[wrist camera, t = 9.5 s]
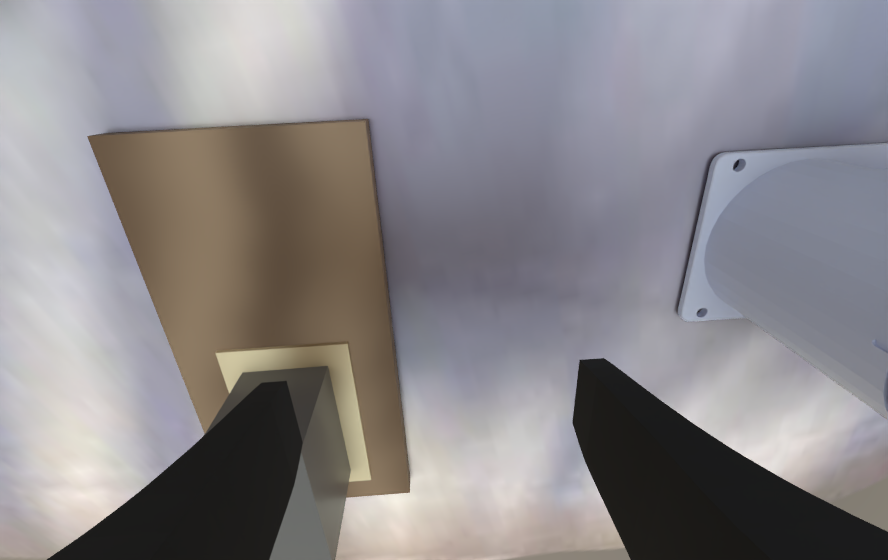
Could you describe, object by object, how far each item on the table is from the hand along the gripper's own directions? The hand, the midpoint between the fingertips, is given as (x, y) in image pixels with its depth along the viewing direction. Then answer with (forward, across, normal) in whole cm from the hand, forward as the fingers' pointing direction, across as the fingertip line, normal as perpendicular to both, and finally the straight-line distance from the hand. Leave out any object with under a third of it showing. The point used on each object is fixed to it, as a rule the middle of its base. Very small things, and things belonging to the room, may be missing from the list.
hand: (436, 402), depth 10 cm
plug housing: (+8, +7, +8) cm, 14 cm away
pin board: (+9, +7, +4) cm, 12 cm away
